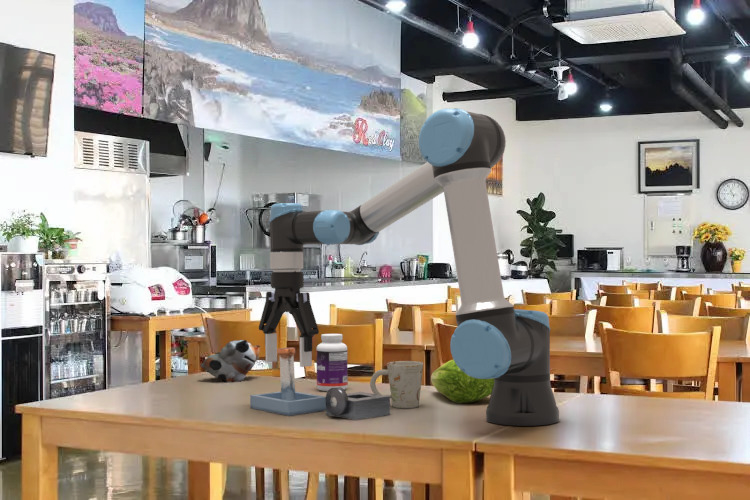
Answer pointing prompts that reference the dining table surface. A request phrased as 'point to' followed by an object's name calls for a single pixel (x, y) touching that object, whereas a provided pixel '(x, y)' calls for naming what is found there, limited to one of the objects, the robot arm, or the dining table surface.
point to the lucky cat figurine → (232, 361)
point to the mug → (402, 382)
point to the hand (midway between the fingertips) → (288, 364)
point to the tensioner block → (356, 404)
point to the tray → (288, 403)
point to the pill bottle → (331, 362)
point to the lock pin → (287, 373)
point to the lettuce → (460, 384)
